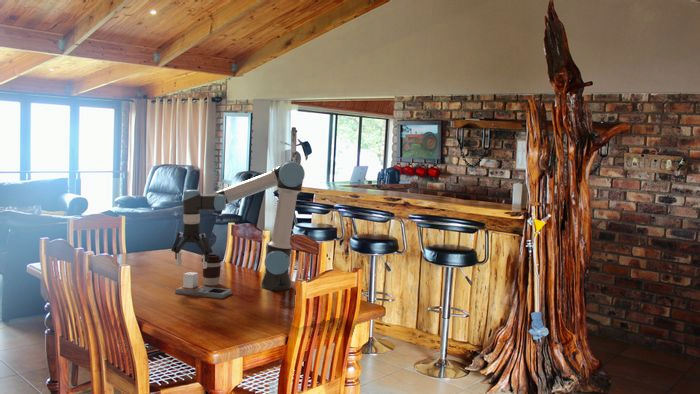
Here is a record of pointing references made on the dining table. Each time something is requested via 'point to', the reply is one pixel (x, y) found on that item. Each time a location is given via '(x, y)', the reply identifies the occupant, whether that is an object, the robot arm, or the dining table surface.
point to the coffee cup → (212, 270)
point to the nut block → (190, 280)
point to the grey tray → (205, 292)
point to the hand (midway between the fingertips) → (191, 267)
